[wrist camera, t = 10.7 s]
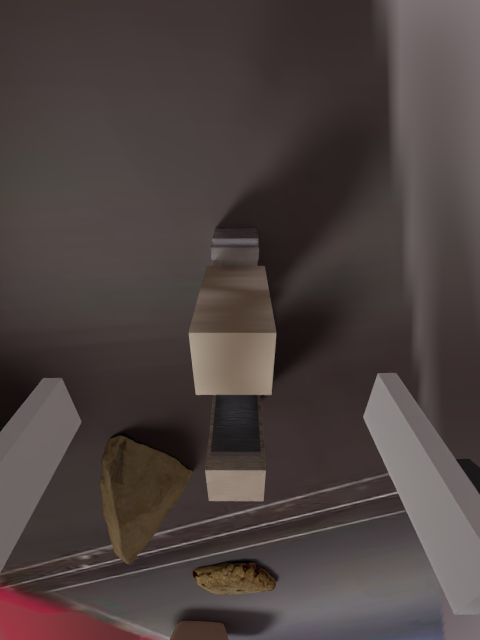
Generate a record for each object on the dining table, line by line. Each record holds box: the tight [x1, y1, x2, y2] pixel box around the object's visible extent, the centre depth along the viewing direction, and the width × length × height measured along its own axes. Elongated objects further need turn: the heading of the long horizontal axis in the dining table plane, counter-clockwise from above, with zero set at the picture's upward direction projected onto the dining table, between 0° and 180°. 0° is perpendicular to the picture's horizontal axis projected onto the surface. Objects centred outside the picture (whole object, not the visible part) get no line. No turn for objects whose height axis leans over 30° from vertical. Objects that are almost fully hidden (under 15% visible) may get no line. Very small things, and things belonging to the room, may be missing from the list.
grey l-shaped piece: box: [205, 228, 266, 501], centre depth 22 cm, size 19×4×10 cm, turn 0°
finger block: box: [189, 266, 276, 395], centre depth 18 cm, size 4×4×8 cm
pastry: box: [193, 563, 276, 595], centre depth 57 cm, size 17×17×3 cm
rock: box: [100, 435, 192, 564], centre depth 33 cm, size 11×9×10 cm
